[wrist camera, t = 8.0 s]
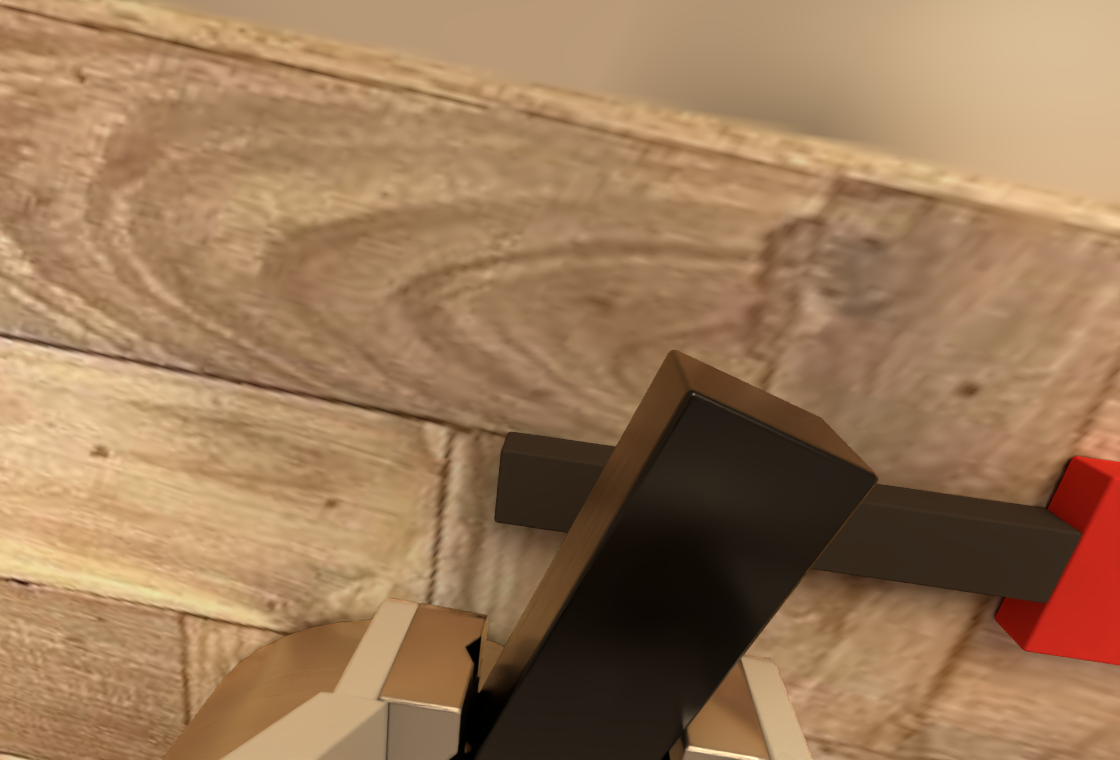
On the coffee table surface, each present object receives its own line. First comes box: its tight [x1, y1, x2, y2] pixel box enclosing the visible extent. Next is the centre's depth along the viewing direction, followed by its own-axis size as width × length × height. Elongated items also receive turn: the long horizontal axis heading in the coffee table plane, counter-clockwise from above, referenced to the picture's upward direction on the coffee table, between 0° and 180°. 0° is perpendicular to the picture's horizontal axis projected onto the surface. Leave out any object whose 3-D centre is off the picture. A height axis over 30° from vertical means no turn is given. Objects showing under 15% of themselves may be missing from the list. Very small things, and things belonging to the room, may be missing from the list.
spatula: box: [494, 432, 1120, 665], centre depth 12 cm, size 4×19×1 cm, turn 83°
